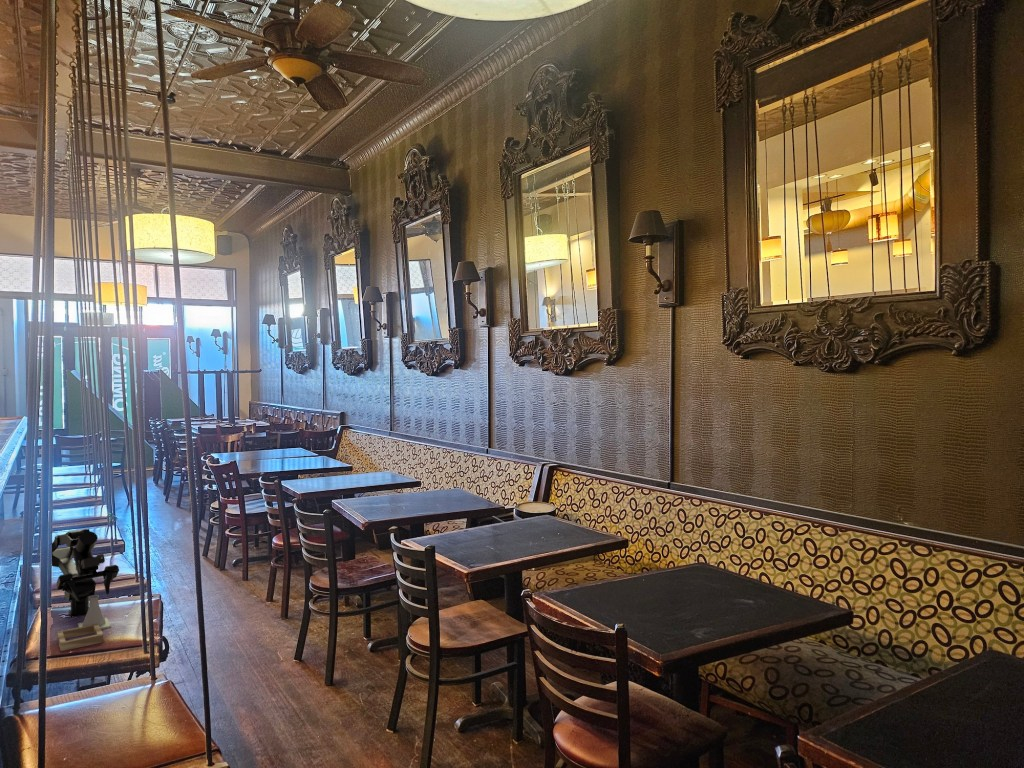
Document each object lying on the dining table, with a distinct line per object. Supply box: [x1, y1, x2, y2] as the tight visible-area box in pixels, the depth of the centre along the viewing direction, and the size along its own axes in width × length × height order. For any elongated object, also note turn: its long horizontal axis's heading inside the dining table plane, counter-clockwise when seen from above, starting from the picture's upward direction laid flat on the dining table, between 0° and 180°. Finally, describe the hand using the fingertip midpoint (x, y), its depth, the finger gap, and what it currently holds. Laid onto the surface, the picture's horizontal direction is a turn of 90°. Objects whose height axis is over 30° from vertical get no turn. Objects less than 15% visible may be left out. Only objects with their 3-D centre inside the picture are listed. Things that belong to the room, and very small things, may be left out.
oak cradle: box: [56, 624, 105, 652], centre depth 230 cm, size 12×12×2 cm
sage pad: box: [77, 617, 112, 630], centre depth 242 cm, size 9×9×1 cm
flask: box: [82, 594, 106, 626], centre depth 242 cm, size 7×7×10 cm
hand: (93, 597), depth 242 cm, fingers open, 9 cm apart
